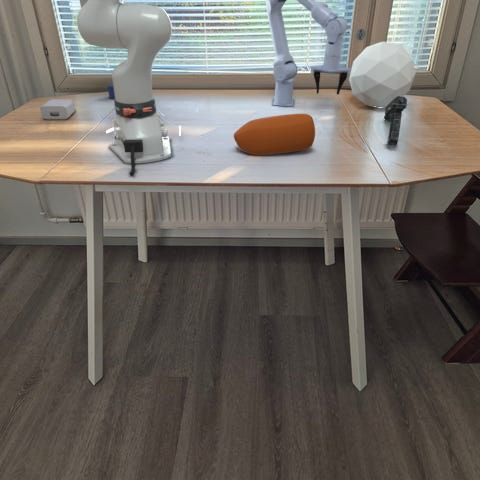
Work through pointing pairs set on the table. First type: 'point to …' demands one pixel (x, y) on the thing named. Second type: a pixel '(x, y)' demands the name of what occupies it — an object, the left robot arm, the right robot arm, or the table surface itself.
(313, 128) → the orange tapered cylinder
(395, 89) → the decorative sphere
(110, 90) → the canister
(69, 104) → the charger
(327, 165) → the table surface
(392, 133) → the futuristic handgun
